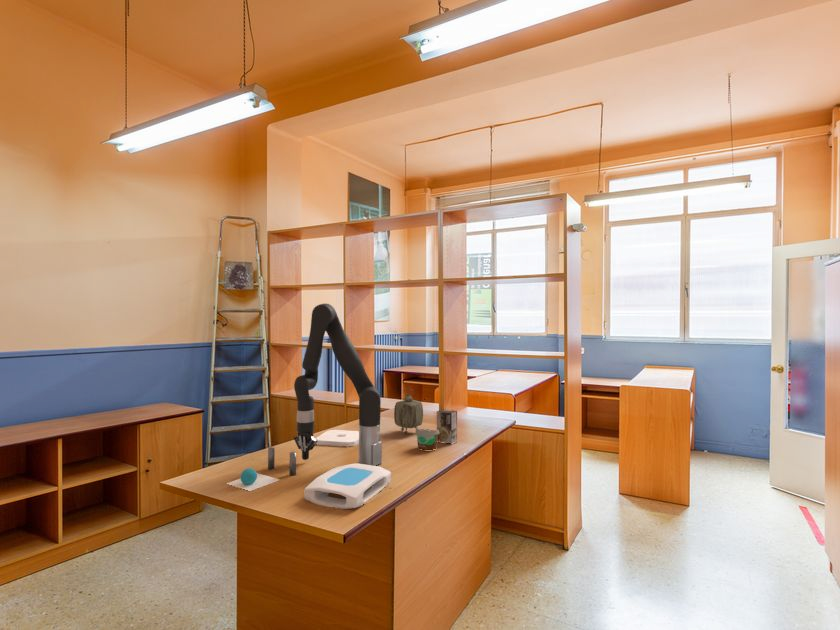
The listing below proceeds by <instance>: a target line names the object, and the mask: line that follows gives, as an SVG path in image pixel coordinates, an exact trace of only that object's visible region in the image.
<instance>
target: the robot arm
mask: <svg viewBox="0 0 840 630" xmlns="http://www.w3.org/2000/svg"><path fill="white" fill-rule="evenodd" d="M310 319H311V321H310V330H309V337H308V340H307V344H306V349H305V352H304V357H303V360H302V364H301V367H302V369H303V370H304V375H299V376H297V377H296V378H295V380H294V385H293V388H294V392H295V398H296V401H297V403H296V405H297V410H296V412H297V413H296V432H297V435H296V436H293V440H294V442H295V444H296V446H297V448H298V450H300V451H301V459H302V460H303V461H307V460H308V459H309V457H310V451H312V450H313V449H314V448H315V446H316V443H317V439H316V440H315V437H314V431H315V409H314V408H315V406H314V405H315V402H314V401H315V400H314V397H313V396H311V395H310V391H312V390H313V389H315V387H316V386H317V384H318V380H319V366H320V362H321V357H322V354H323V343H324V339H325V338H324V337H325V333H326V334H327V336H328V337H329V341H330V344H331V348H332V353H333V354H334V357H335V359H336V361H337V363H338V365H339V366H340V368H341V369H342V371H343V372H344V373H345V375H346V376H347V377H348V378H349V380H350V381H351V383H352V384H353V386H354V388H355V391H356V392H357V393H356V394H357V395H358V396H357V397H358V431H359V443H358V464H365V465H372V466H376V465H377V466H379V465H381V464H382V462H383V459H382V457H383V454H382V452H383V451H382V449H383V446H382V445H383V442H382V441H381V408H382V407H381V403H382V401H381V395H380V392H379V391H378V389H377V388H376V386H375V385H374V384H373V382H372V380H371V379H370V377H369V375H368V373H367V372H366V370H365V367H364V363H363V362H362V359H361V357H360V355H359V354H358V351H357V350H356V348H355V346H354V344H353V343H352V341H351V339H350V338H349V336H348V334H347V332H346V331H345V330H344V328H343V326H342V323H341V320H340V319H339V316H338V313H337V311H336V309H335V307H334V306H333V305H331V304H329V303H321V304H317V305H315V306H314V307H313V309H312V312H311V318H310ZM380 463H381V464H380ZM378 464H379V465H378Z"/></svg>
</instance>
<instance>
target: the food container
mask: <svg viewBox="0 0 840 630" xmlns="http://www.w3.org/2000/svg"><path fill="white" fill-rule="evenodd" d="M415 434H416V438H417V448H419V449H422V450H433V449H436V448H437V447H438V442H437V441H438V434H440V433H439V429H438V430H437V429H436V430H433V429H428V428H426V429H425V428H422V429H421V428H418V427H417V428H415ZM419 449H418V450H419ZM437 449H438V448H437Z"/></svg>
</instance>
